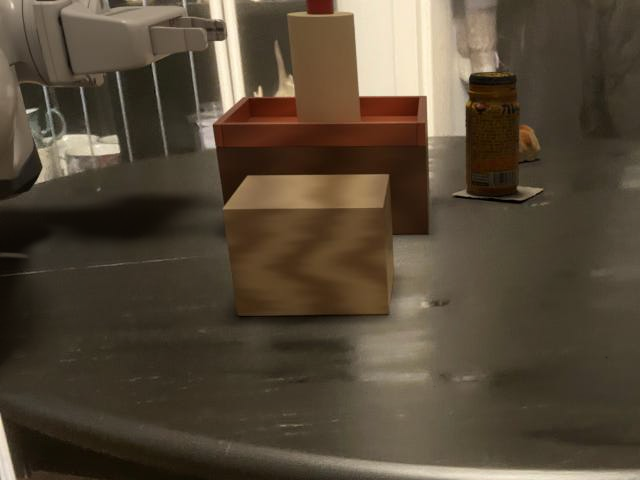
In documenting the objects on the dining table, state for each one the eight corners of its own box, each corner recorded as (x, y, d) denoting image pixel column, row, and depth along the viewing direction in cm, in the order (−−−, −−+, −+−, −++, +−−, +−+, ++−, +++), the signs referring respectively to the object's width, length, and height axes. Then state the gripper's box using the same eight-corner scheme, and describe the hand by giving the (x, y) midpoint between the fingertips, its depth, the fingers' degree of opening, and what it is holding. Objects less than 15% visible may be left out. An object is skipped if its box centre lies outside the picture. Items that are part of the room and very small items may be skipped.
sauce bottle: (295, 134, 97) (279, -23, 90) (302, 124, 103) (287, -26, 95) (359, 134, 98) (348, -23, 90) (363, 123, 103) (353, -26, 95)
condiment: (478, 184, 117) (477, 68, 110) (544, 190, 114) (548, 72, 107) (451, 196, 111) (449, 76, 104) (520, 203, 108) (523, 80, 101)
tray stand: (228, 236, 97) (212, 124, 91) (255, 195, 112) (242, 96, 106) (428, 233, 98) (425, 122, 92) (429, 194, 112) (426, 95, 107)
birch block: (237, 316, 77) (221, 208, 73) (259, 272, 87) (247, 175, 82) (389, 314, 78) (383, 207, 73) (394, 271, 87) (389, 174, 83)
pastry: (491, 168, 124) (491, 135, 122) (457, 161, 128) (456, 129, 126) (544, 159, 129) (545, 126, 127) (509, 152, 133) (510, 121, 131)
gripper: (111, 60, 105) (240, 60, 105) (46, 85, 88) (199, 85, 89) (97, -11, 101) (231, -11, 101) (27, 2, 85) (187, 2, 85)
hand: (216, 34), depth 95 cm, fingers open, 8 cm apart
